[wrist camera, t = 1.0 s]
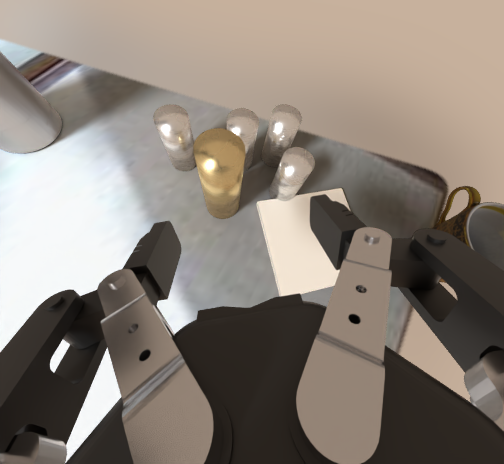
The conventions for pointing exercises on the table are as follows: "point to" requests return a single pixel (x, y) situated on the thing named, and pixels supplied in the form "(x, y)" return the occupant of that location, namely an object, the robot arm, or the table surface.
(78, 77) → the table surface
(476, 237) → the ceramic cup
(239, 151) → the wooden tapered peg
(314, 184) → the table surface
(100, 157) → the table surface
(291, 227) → the pad
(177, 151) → the spacers
